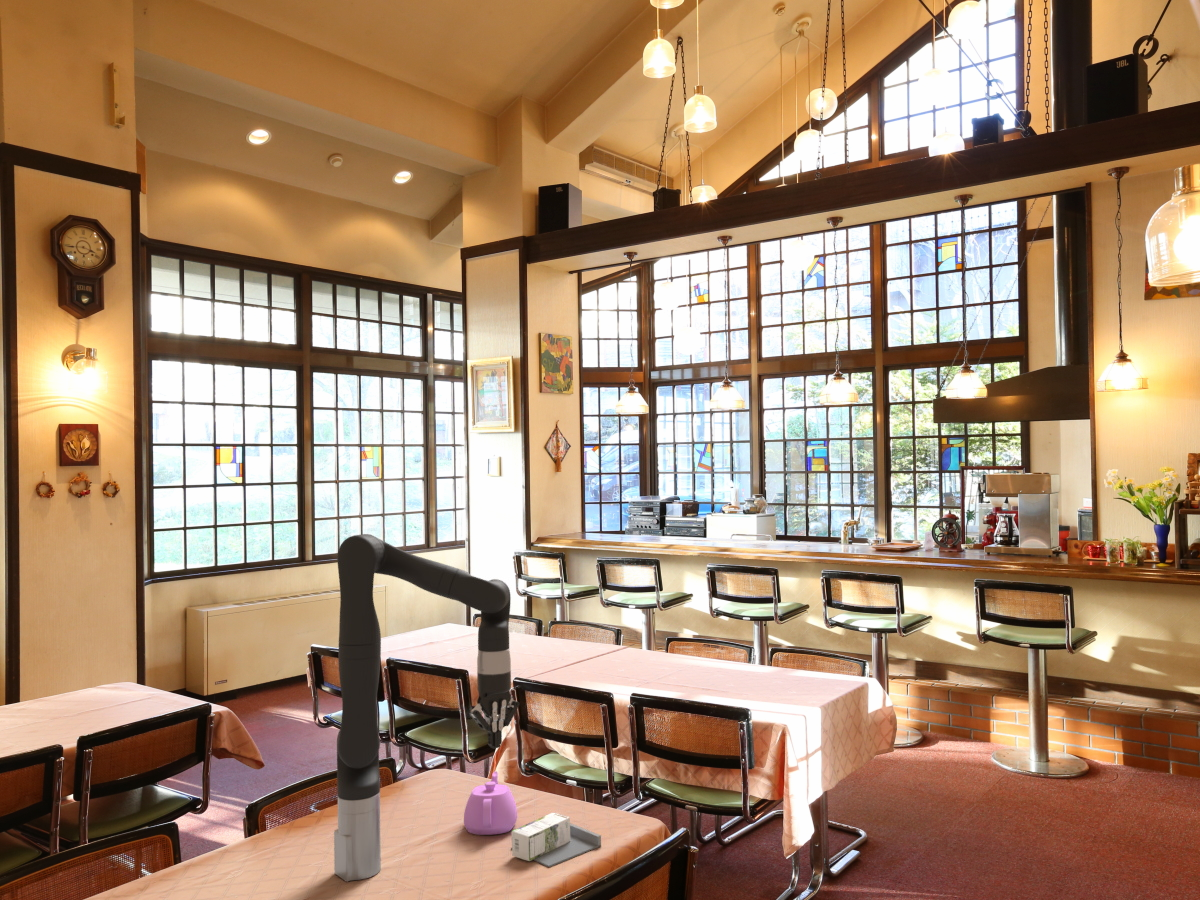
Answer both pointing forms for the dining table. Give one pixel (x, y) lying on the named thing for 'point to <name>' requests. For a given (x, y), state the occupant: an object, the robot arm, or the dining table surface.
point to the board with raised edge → (571, 846)
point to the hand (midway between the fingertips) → (495, 747)
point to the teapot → (490, 809)
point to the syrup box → (540, 836)
